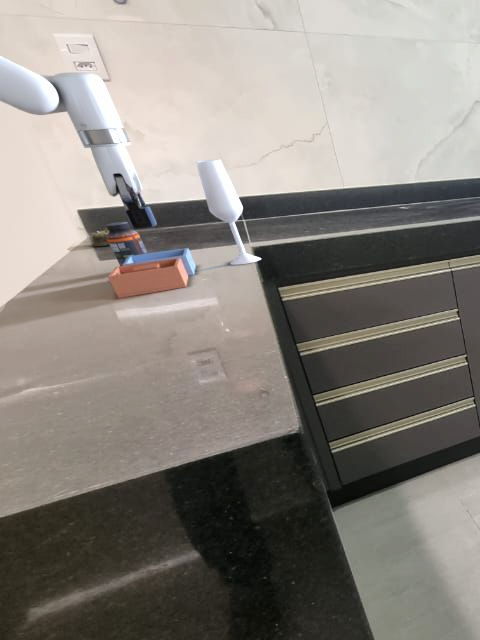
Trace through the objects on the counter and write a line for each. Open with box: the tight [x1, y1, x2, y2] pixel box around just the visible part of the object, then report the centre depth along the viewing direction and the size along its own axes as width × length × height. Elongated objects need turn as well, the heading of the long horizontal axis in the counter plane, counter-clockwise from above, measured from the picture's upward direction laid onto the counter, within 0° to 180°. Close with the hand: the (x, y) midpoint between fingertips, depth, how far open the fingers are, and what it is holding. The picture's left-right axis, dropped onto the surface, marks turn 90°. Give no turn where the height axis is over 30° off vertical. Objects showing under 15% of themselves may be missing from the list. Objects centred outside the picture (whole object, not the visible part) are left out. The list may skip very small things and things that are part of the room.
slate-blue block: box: [124, 206, 158, 230], centre depth 119 cm, size 4×4×4 cm
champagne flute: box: [195, 159, 262, 266], centre depth 129 cm, size 7×7×24 cm
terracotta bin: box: [107, 258, 189, 299], centre depth 115 cm, size 11×10×5 cm
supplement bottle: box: [105, 221, 149, 266], centre depth 128 cm, size 6×6×11 cm
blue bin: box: [123, 247, 196, 277], centre depth 124 cm, size 11×10×5 cm
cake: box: [91, 226, 110, 247], centre depth 161 cm, size 10×10×5 cm
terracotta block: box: [133, 263, 161, 272], centre depth 114 cm, size 4×4×4 cm
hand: (144, 225), depth 120 cm, fingers closed on slate-blue block, 4 cm apart
